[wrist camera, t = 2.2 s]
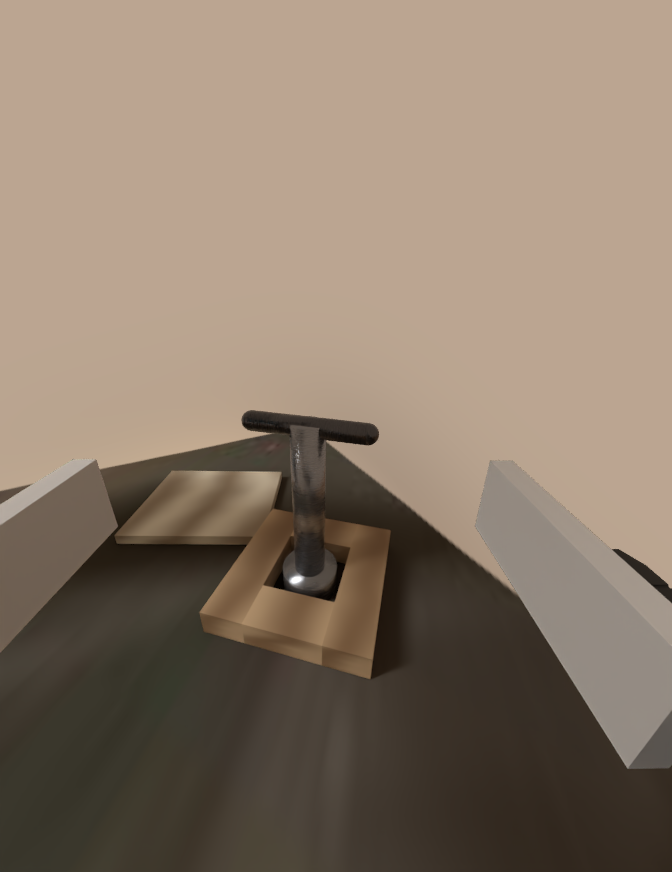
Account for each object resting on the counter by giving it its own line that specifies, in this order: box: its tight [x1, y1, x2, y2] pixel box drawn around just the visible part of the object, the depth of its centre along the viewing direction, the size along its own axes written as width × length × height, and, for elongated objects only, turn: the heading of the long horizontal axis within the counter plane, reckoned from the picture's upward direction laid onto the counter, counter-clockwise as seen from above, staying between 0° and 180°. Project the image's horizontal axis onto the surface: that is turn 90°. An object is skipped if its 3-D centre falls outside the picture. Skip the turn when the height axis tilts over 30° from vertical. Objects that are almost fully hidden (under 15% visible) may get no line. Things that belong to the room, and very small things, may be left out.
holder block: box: [199, 509, 391, 679], centre depth 26 cm, size 12×12×2 cm
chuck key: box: [242, 410, 379, 600], centre depth 24 cm, size 9×4×15 cm, turn 76°
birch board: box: [114, 471, 282, 545], centre depth 36 cm, size 14×12×1 cm
